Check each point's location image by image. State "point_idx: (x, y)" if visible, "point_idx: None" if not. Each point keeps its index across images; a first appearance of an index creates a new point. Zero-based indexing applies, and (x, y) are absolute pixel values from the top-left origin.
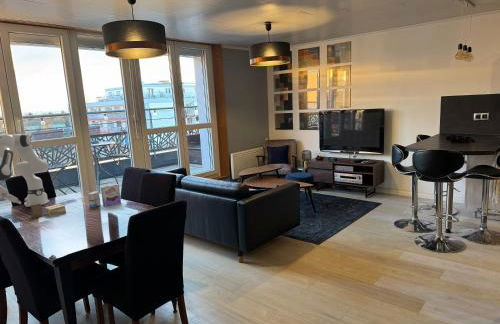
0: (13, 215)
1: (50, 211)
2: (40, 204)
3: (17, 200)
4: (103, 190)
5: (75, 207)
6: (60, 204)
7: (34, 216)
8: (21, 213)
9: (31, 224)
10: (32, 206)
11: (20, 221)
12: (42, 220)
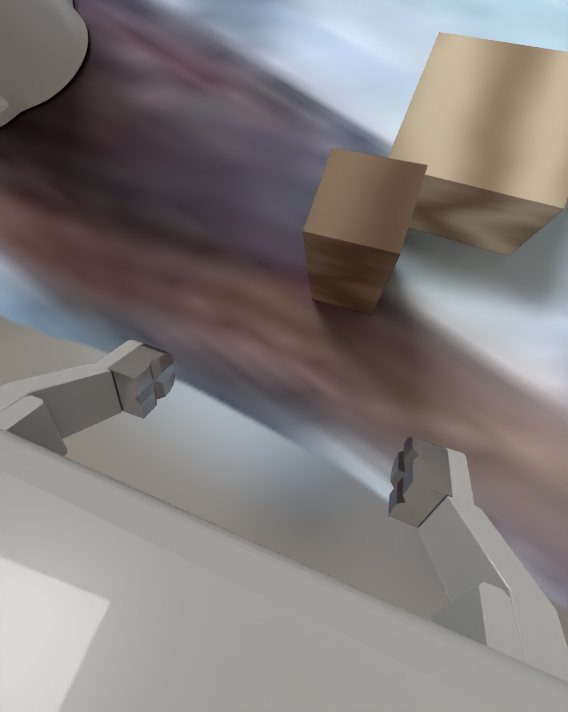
0: (77, 305)
1: (547, 220)
2: (424, 175)
3: (542, 623)
4: None
5: (474, 15)
6: (478, 43)
7: (353, 306)
8: (102, 251)
9: (554, 485)
10: (356, 255)
11: (316, 425)
12: (541, 360)
